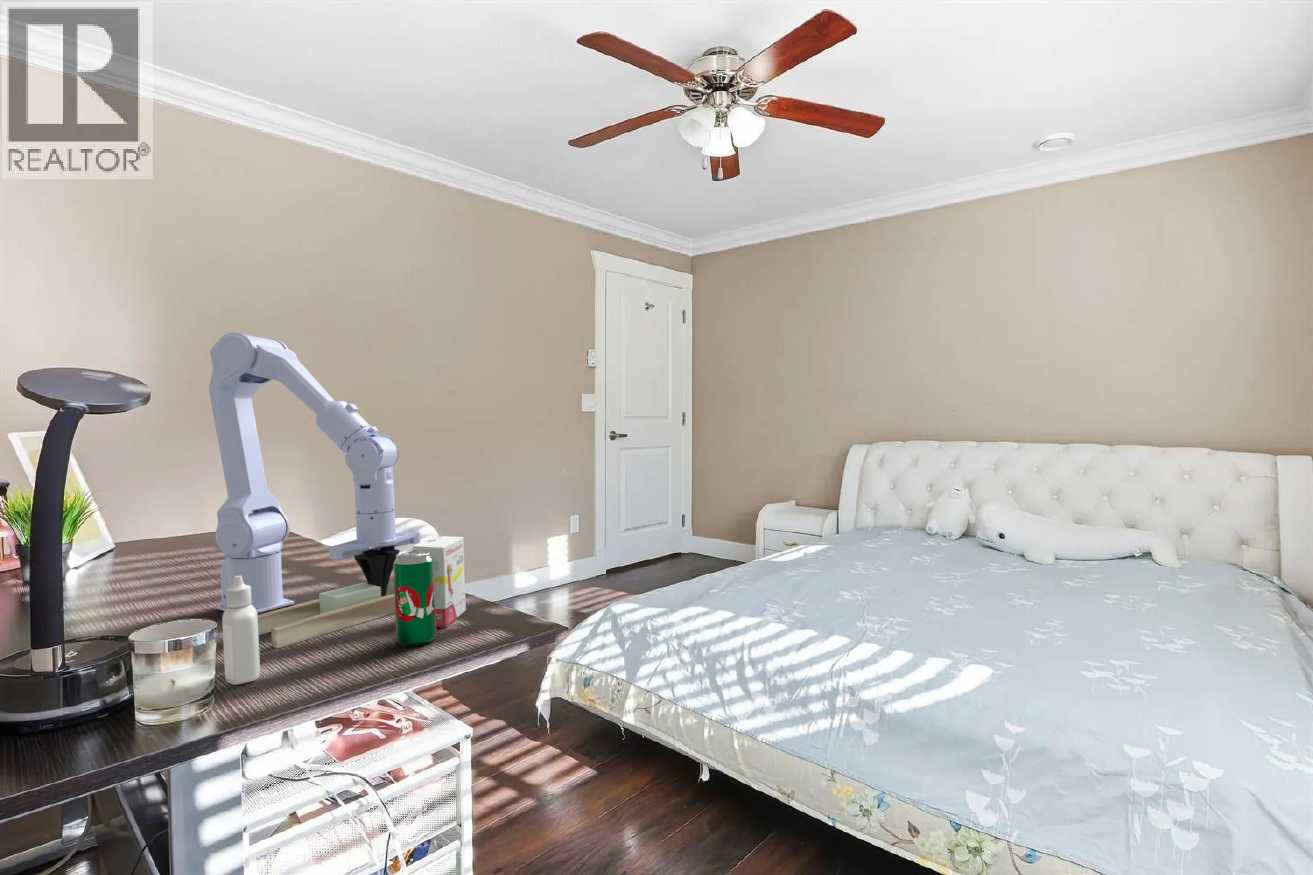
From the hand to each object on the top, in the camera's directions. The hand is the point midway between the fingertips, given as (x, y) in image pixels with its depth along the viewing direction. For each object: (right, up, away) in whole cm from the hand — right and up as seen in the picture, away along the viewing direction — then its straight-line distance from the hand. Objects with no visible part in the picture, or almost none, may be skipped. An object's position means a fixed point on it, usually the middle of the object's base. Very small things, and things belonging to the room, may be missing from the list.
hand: (378, 595), depth 102 cm
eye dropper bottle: (-4, -3, -27) cm, 27 cm away
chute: (-4, -2, -7) cm, 8 cm away
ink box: (+12, -2, -7) cm, 14 cm away
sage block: (-2, -2, -4) cm, 5 cm away
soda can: (+12, -2, -16) cm, 20 cm away
